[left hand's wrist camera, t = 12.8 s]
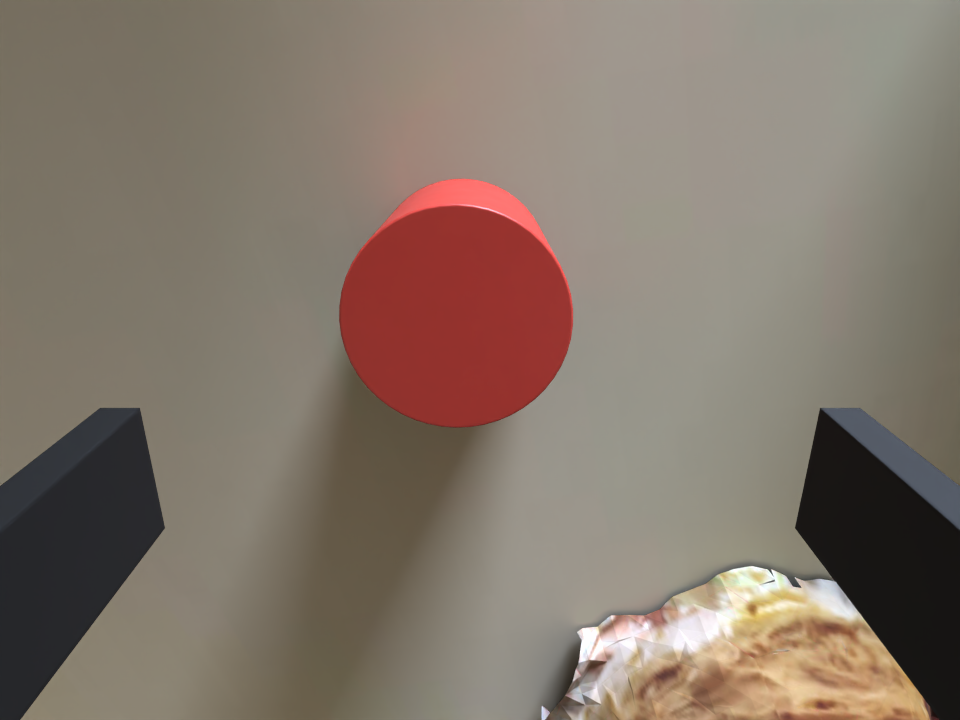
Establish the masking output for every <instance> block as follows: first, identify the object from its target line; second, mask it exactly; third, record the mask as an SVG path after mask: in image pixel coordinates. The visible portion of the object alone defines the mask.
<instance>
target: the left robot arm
mask: <svg viewBox="0 0 960 720" xmlns="http://www.w3.org/2000/svg"><path fill="white" fill-rule="evenodd" d="M164 529H165V526H164V522H163V517H162V512H161V507H160V502H159V498H158V493H157V488H156V483H155V479H154V474H153V469H152V464H151V459H150V455H149V450H148V445H147V440H146V436H145V431H144V426H143V421H142V416H141V412H140V408H100V409H98V410H97V411H96V412H94V413H93V414H92V415H91V416H89V417H88V418H87V419H86V420H84V421H83V422H82V423H80V424H79V425H78V426H77V427H75V428H74V429H73V430H71V431H70V432H69V433H68V434H66V435H65V436H64V437H63V438H61V439H60V440H59V441H57V442H56V443H55V444H54V445H52V446H51V447H50V448H48V449H47V450H46V451H45V452H43V453H42V454H41V455H40V456H38V457H37V458H36V459H34V460H33V461H32V462H31V463H29V464H28V465H27V466H25V467H24V468H23V469H22V470H20V471H19V472H18V473H17V474H15V475H14V476H13V477H11V478H10V479H9V480H8V481H6V482H5V483H4V484H2V485H1V486H0V720H20V719H21V718H22V717H23V715H24V714H25V713H26V711H27V710H28V709H29V707H30V706H31V705H32V703H33V702H34V701H35V699H36V698H37V697H38V695H39V694H40V693H41V691H42V690H43V689H44V687H45V686H46V685H47V684H48V682H49V681H50V680H51V678H52V677H53V676H54V674H55V673H56V672H57V670H58V669H59V668H60V666H61V665H62V664H63V662H64V661H65V660H66V658H67V657H68V656H69V654H70V653H71V652H72V650H73V649H74V648H75V646H76V645H77V644H78V642H79V641H80V640H81V638H82V637H83V636H84V635H85V633H86V632H87V631H88V629H89V628H90V627H91V625H92V624H93V623H94V621H95V620H96V619H97V617H98V616H99V615H100V613H101V612H102V611H103V609H104V608H105V607H106V605H107V604H108V603H109V601H110V600H111V599H112V597H113V596H114V595H115V593H116V592H117V591H118V589H119V588H120V587H121V586H122V584H123V583H124V582H125V580H126V579H127V578H128V576H129V575H130V574H131V572H132V571H133V570H134V568H135V567H136V566H137V564H138V563H139V562H140V560H141V559H142V558H143V556H144V555H145V554H146V552H147V551H148V550H149V548H150V547H151V546H152V544H153V543H154V542H155V540H156V539H157V538H158V537H159V535H160V534H161V533H162V531H163V530H164ZM795 529H796V530H797V531H798V533H799V534H800V535H801V537H802V538H803V539H804V540H805V542H806V543H807V544H808V546H809V547H810V548H811V550H812V551H813V552H814V554H815V555H816V556H817V558H818V559H819V560H820V562H821V563H822V564H823V566H824V567H825V568H826V570H827V571H828V572H829V574H830V575H831V576H832V578H833V579H834V580H835V582H836V583H837V584H838V586H839V587H840V588H841V589H842V591H843V592H844V593H845V595H846V596H847V597H848V599H849V600H850V601H851V603H852V604H853V605H854V607H855V608H856V609H857V611H858V612H859V613H860V615H861V616H862V617H863V619H864V620H865V621H866V623H867V624H868V625H869V627H870V628H871V629H872V631H873V632H874V633H875V635H876V636H877V637H878V638H879V640H880V641H881V642H882V644H883V645H884V646H885V648H886V649H887V650H888V652H889V653H890V654H891V656H892V657H893V658H894V660H895V661H896V662H897V664H898V665H899V666H900V668H901V669H902V670H903V672H904V673H905V674H906V676H907V677H908V678H909V680H910V681H911V682H912V684H913V685H914V686H915V687H916V689H917V690H918V691H919V693H920V694H921V695H922V697H923V698H924V699H925V701H926V702H927V703H928V705H929V706H930V707H931V709H932V710H933V711H934V713H935V714H936V715H937V717H938V718H939V719H940V720H960V486H959V485H958V484H956V483H955V482H954V481H952V480H951V479H950V478H949V477H947V476H946V475H945V474H943V473H942V472H941V471H940V470H938V469H937V468H936V467H935V466H933V465H932V464H931V463H929V462H928V461H927V460H926V459H924V458H923V457H922V456H920V455H919V454H918V453H917V452H915V451H914V450H913V449H912V448H910V447H909V446H908V445H906V444H905V443H904V442H903V441H901V440H900V439H899V438H897V437H896V436H895V435H894V434H892V433H891V432H890V431H889V430H887V429H886V428H885V427H883V426H882V425H881V424H880V423H878V422H877V421H876V420H874V419H873V418H872V417H871V416H869V415H868V414H867V413H866V412H864V411H863V410H862V409H860V408H820V412H819V416H818V421H817V426H816V431H815V436H814V440H813V445H812V450H811V455H810V459H809V464H808V469H807V474H806V479H805V483H804V488H803V493H802V498H801V502H800V507H799V512H798V517H797V522H796V526H795Z"/></svg>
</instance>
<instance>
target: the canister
mask: <svg viewBox="0 0 960 720" xmlns="http://www.w3.org/2000/svg"><path fill="white" fill-rule="evenodd" d="M339 322H340V329H341V336H342V340H343V343H344V347H345V350H346V353H347V355H348V357H349V360H350V362H351V364H352V366H353V367H354V369H355V371H356V373H357V374H358V376H359V377H360V378H361V380H362V381H363V382H364V384H365V385H366V386H367V387H368V388H369V389H370V390H371V391H372V392H373V393H374V394H375V395H376V396H377V397H378V398H379V399H380V400H381V401H383V402H384V403H385V404H387V405H388V406H389V407H391V408H393V409H394V410H396V411H397V412H399V413H401V414H403V415H405V416H407V417H410V418H412V419H414V420H417V421H420V422H423V423H427V424H431V425H436V426H442V427H455V428H457V427H473V426H479V425H484V424H488V423H491V422H495V421H498V420H501V419H503V418H505V417H508V416H510V415H512V414H514V413H515V412H517V411H519V410H521V409H522V408H524V407H525V406H527V405H528V404H529V403H531V402H532V401H533V400H534V399H536V398H537V397H538V396H539V395H540V394H541V393H542V392H543V391H544V390H545V389H546V387H547V386H548V385H549V384H550V382H551V381H552V380H553V379H554V377H555V375H556V374H557V372H558V370H559V369H560V367H561V365H562V363H563V361H564V358H565V356H566V354H567V351H568V347H569V344H570V340H571V334H572V327H573V306H572V299H571V293H570V290H569V286H568V283H567V280H566V277H565V275H564V273H563V270H562V268H561V266H560V264H559V262H558V260H557V259H556V257H555V255H554V253H553V251H552V249H551V248H550V246H549V244H548V242H547V240H546V239H545V237H544V235H543V233H542V231H541V229H540V228H539V226H538V224H537V222H536V221H535V219H534V217H533V216H532V215H531V213H530V212H529V211H528V210H527V208H526V207H525V206H524V205H523V204H522V203H521V202H520V201H519V200H518V199H516V198H515V197H514V196H512V195H511V194H509V193H508V192H506V191H505V190H503V189H501V188H499V187H497V186H494V185H492V184H489V183H486V182H482V181H477V180H470V179H451V180H446V181H441V182H437V183H434V184H431V185H428V186H426V187H424V188H422V189H420V190H418V191H417V192H415V193H414V194H412V195H411V196H409V197H408V198H407V199H406V200H405V201H404V202H403V203H401V204H400V205H399V207H398V208H397V209H396V210H395V211H394V212H393V213H392V214H391V216H390V217H389V218H388V219H387V220H386V221H385V222H384V223H383V224H382V226H381V227H380V228H379V229H378V230H377V231H376V232H375V233H374V235H373V236H372V237H371V238H370V239H369V240H368V241H367V243H366V244H365V245H364V246H363V247H362V249H361V250H360V251H359V253H358V254H357V256H356V258H355V259H354V261H353V262H352V264H351V266H350V269H349V271H348V273H347V275H346V278H345V281H344V285H343V288H342V292H341V299H340V306H339Z"/></svg>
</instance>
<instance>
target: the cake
mask: <svg viewBox="0 0 960 720" xmlns="http://www.w3.org/2000/svg"><path fill="white" fill-rule="evenodd" d="M771 570H772V569H771ZM772 573H773V576H774V577H773V576H772V574H771V573H770V572H769V570H768V569H763V568H758V567H753V566H749V567H743V568H738V569H733V570H730V571H727V572H724V573H721V574H718V575H717V576H715V577H714V578H713V579H711V580H710V581H709V582H707V583H706V584H704V585H701V586H699V587H696V588H694V589H691V590H688V591H686V592H683V593H681V594H678V595H676V596H673V597H672V598H671V599H670V600H669V601H668V602H667V603H665V604H664V605H663V606H662V607H661V608H660V609H659V610H657V611H655V612H652V613H650V614H647V615H644V616H641V615H611V616H610V617H608V618H607V619H606V620H605V621H603V622H602V623H601V624H600V625H599V626H598V627H591V628H582V629H581V630H579V631H578V632H577V633H578V634H579V636H580V638H581V639H582V643H581V651H580V658H579V663H578V666H577V668H576V671H575V674H574V678H573V682H572V684H571V686H570V687H569V689H568V691H567V693H566V695H565V696H564V697H563V699H562V700H561V701H560V702H559V704H557V706H556V707H555V709H554V710H553V711H551V712H549V711H548V710H547V709H546V708H545V707H544V706H542V720H940V719H939V718H938V717H937V715H936V714H935V713H934V711H933V710H932V709H931V707H930V706H929V705H928V703H927V702H926V701H925V699H924V698H923V697H922V695H921V694H920V693H919V691H918V690H917V689H916V687H915V686H914V685H913V684H912V682H911V681H910V680H909V678H908V677H907V676H906V674H905V673H904V672H903V670H902V669H901V668H900V666H899V665H898V664H897V662H896V661H895V660H894V658H893V657H892V656H891V654H890V653H889V652H888V650H887V649H886V648H885V646H884V645H883V644H882V642H881V641H880V640H879V638H878V637H877V636H876V635H875V633H874V632H873V631H872V629H871V628H870V627H869V625H868V624H867V623H866V621H865V620H864V619H863V617H862V616H861V615H860V613H859V612H858V611H857V609H856V608H855V607H854V605H853V604H852V603H851V601H850V600H849V599H848V597H847V596H846V595H845V593H844V592H843V591H842V589H841V588H840V587H839V586H838V584H837V583H836V582H834V581H829V580H824V579H814V580H808V581H803V580H800V579H798V578H796V577H795V579H796V580H797V582H798V583H799V585H800V586H801V588H798V587H793V586H792V585H791V583H790V582H789V580H788V579H787V577H786V576H785V575H783V574H781V573H778V572H776V571H774V570H772ZM772 580H775V582H770V583H766V582H769V581H772ZM763 583H766V584H763ZM760 584H761V585H760Z"/></svg>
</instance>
